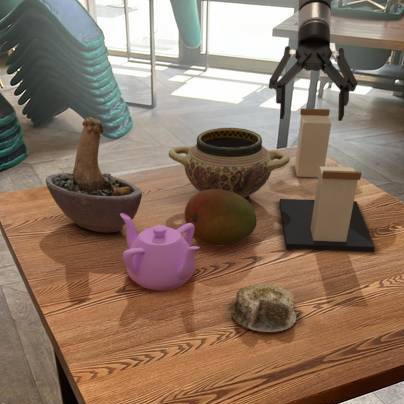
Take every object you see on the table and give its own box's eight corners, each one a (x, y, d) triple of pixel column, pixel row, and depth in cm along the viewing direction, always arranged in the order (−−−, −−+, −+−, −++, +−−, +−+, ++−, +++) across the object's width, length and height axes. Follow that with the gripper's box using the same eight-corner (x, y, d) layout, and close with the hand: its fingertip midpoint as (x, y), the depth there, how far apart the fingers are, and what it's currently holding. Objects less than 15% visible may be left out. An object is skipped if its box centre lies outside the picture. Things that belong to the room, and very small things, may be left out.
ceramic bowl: (284, 203, 127) (292, 130, 120) (284, 217, 111) (293, 134, 104) (176, 195, 129) (177, 123, 123) (160, 208, 113) (161, 127, 107)
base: (355, 205, 120) (369, 136, 111) (373, 251, 104) (391, 175, 95) (279, 203, 120) (286, 133, 111) (286, 248, 105) (295, 172, 96)
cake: (222, 307, 91) (223, 276, 87) (279, 298, 93) (282, 267, 90) (245, 339, 83) (247, 306, 80) (307, 328, 85) (311, 296, 82)
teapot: (198, 296, 92) (199, 246, 86) (113, 293, 92) (108, 243, 87) (201, 259, 101) (202, 212, 95) (123, 256, 101) (120, 210, 96)
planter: (145, 240, 106) (139, 130, 93) (53, 249, 103) (34, 135, 90) (134, 207, 117) (128, 104, 105) (51, 214, 114) (34, 108, 102)
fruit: (175, 237, 107) (174, 186, 101) (228, 221, 113) (230, 171, 107) (212, 263, 100) (213, 209, 94) (266, 244, 106) (271, 192, 99)
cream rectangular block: (320, 167, 136) (329, 109, 128) (323, 177, 132) (333, 117, 123) (293, 166, 137) (300, 108, 128) (296, 176, 132) (303, 116, 123)
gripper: (363, 43, 138) (361, 126, 136) (259, 39, 139) (256, 123, 136) (371, 21, 130) (370, 109, 128) (262, 18, 131) (259, 106, 129)
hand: (311, 117), depth 132 cm, fingers open, 13 cm apart
